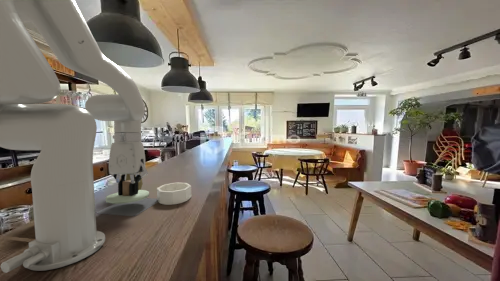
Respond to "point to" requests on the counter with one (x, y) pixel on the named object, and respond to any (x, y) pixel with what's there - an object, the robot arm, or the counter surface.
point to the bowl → (173, 193)
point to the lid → (126, 195)
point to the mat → (129, 207)
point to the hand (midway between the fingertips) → (128, 193)
